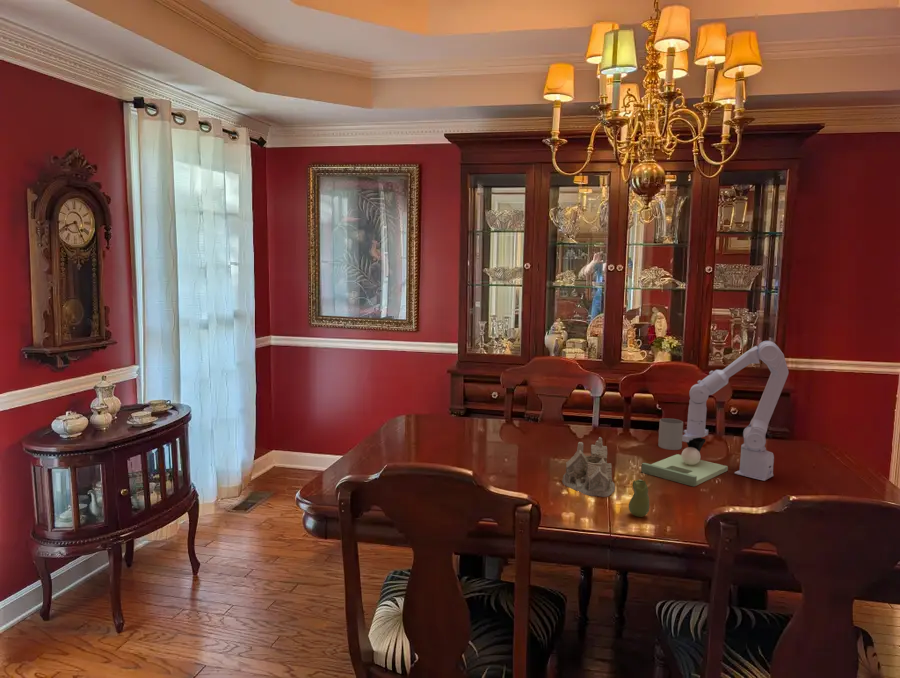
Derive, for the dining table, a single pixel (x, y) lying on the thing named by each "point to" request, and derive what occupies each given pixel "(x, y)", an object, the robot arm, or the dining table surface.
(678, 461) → the putting mat
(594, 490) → the ceramic cottage
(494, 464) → the dining table surface
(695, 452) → the golf ball
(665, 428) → the cup
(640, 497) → the pear
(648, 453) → the dining table surface
